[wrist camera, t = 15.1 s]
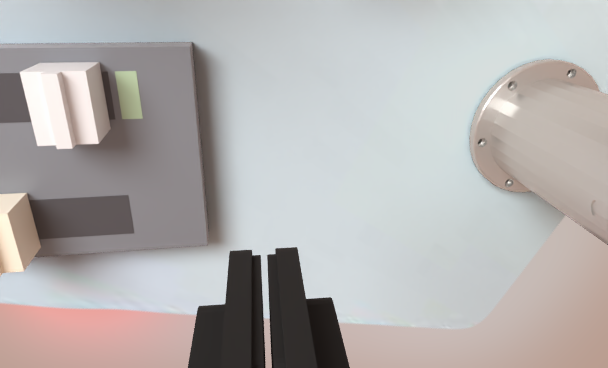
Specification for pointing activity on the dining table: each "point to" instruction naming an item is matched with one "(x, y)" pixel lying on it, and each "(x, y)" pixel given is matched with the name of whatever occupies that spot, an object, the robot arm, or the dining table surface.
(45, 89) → the ridged white block
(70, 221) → the switch panel
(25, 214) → the cream tab
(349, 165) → the dining table surface
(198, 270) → the dining table surface
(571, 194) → the robot arm
